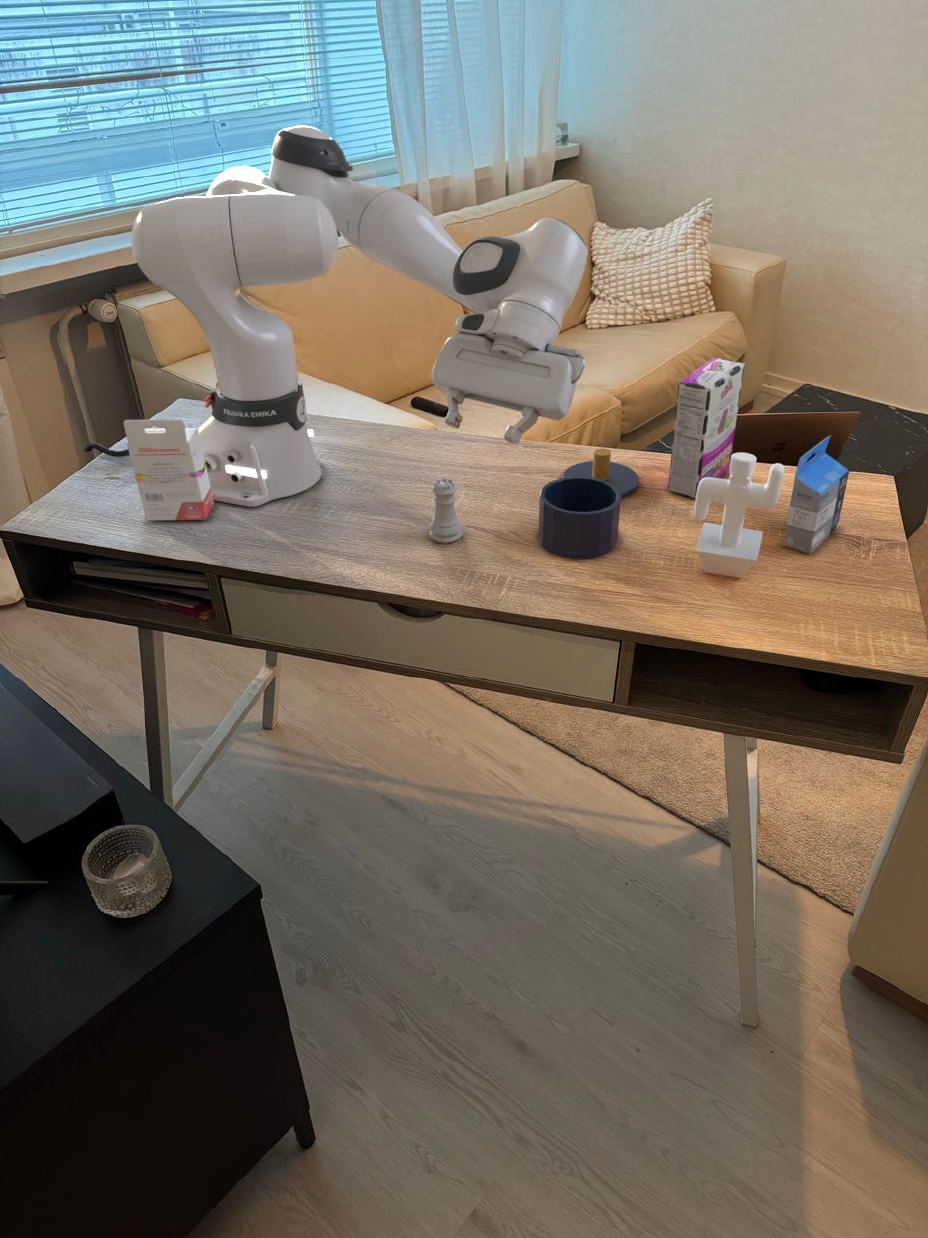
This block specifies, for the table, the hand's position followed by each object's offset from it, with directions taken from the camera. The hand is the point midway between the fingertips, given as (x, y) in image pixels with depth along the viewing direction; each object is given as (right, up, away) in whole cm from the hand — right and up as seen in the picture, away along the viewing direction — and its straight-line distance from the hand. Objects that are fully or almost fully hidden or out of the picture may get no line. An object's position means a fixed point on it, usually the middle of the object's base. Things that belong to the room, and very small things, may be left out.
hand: (480, 433), depth 121 cm
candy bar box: (+32, -5, +12) cm, 34 cm away
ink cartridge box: (-42, -9, +8) cm, 44 cm away
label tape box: (+43, -14, -1) cm, 45 cm away
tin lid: (+18, -4, +12) cm, 22 cm away
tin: (+13, -14, 0) cm, 19 cm away
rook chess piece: (-5, -14, +1) cm, 14 cm away
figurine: (+30, -18, -6) cm, 36 cm away
